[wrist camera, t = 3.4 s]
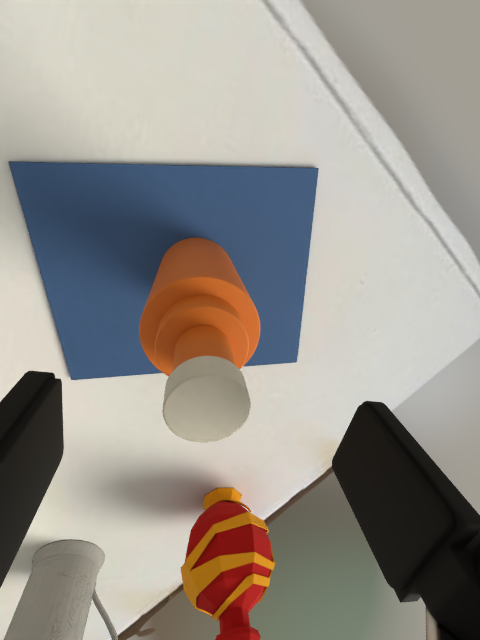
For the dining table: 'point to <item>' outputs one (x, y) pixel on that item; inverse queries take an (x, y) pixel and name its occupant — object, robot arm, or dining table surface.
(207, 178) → the cloth
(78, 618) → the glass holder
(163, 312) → the bottle
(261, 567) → the potion bottle
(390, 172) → the dining table surface
